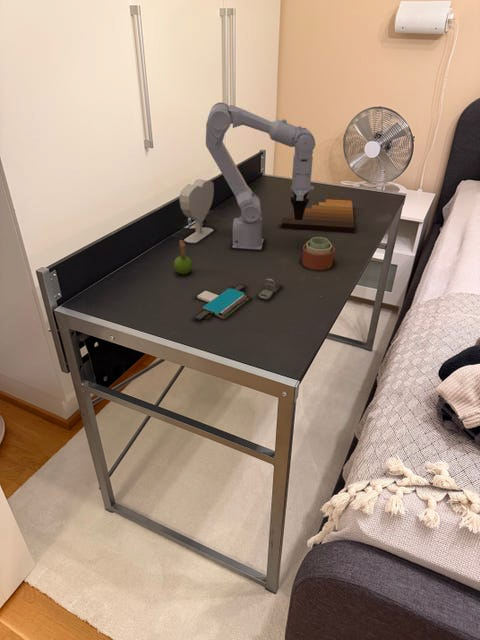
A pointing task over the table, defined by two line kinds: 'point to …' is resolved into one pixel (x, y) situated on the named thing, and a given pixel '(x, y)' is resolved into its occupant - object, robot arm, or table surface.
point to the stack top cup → (318, 251)
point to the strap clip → (268, 289)
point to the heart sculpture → (197, 206)
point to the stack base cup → (317, 259)
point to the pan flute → (324, 217)
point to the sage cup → (319, 243)
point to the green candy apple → (182, 260)
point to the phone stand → (222, 302)
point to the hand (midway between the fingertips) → (298, 215)
